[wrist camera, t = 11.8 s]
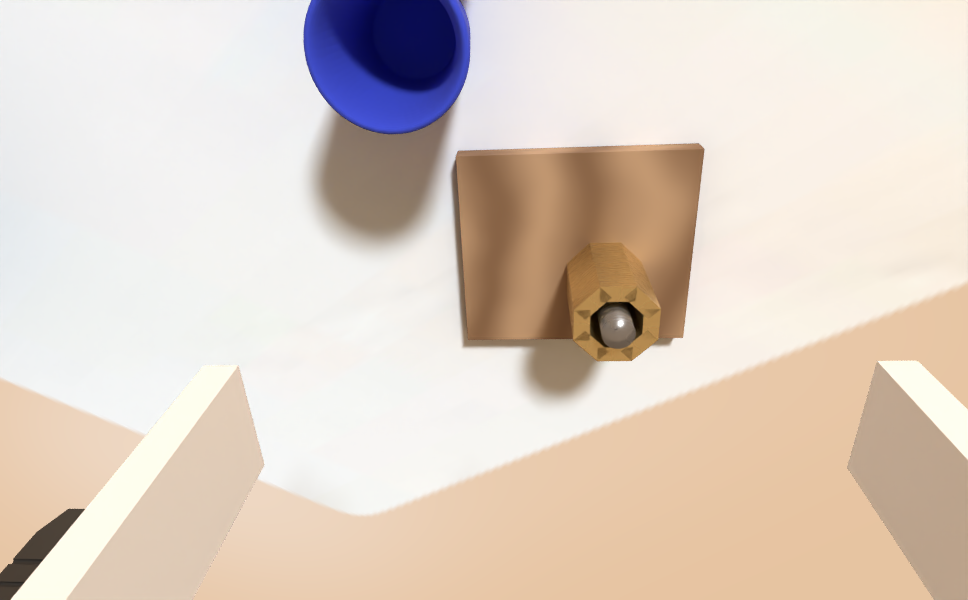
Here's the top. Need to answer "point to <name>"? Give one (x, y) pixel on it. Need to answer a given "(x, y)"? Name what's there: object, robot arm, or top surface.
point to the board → (571, 229)
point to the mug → (388, 59)
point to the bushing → (610, 299)
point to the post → (616, 324)
